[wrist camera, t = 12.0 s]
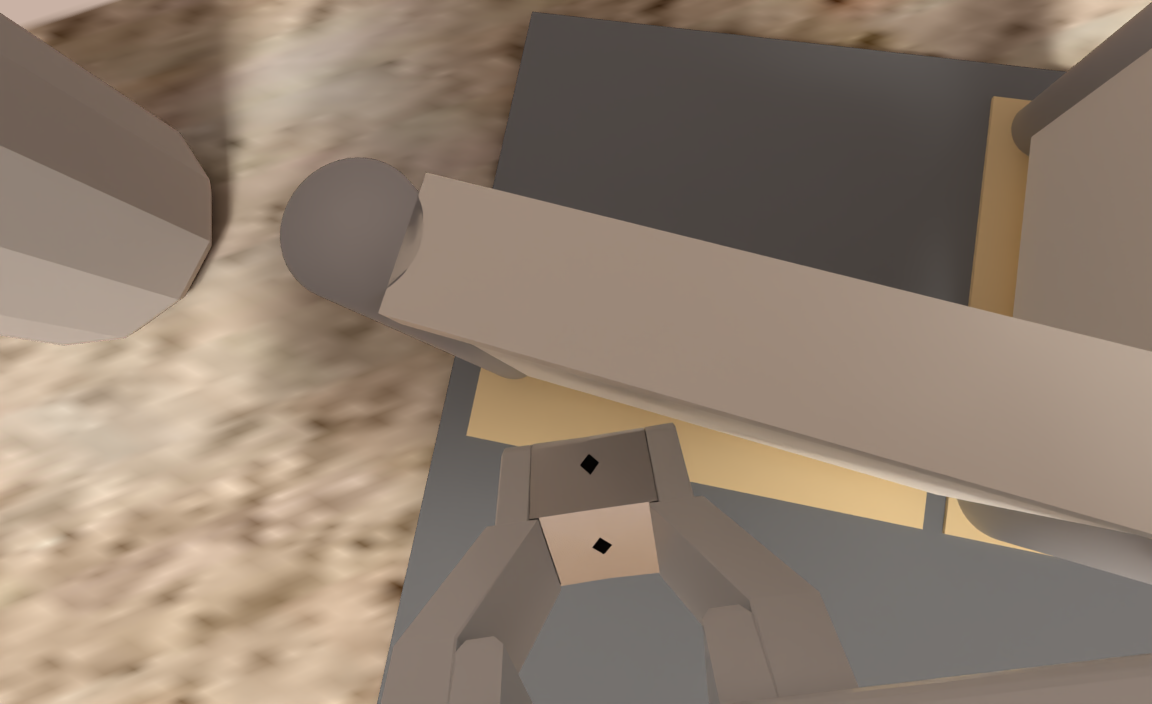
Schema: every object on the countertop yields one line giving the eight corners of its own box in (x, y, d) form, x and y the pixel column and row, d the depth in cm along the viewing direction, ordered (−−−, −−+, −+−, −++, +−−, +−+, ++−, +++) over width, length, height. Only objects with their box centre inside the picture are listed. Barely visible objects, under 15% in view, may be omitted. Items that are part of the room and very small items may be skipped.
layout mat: (328, 942, 14) (317, 961, 13) (534, 21, 17) (531, 9, 16) (1237, 1237, 12) (1264, 1273, 11) (1287, 107, 15) (1310, 96, 14)
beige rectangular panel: (495, 311, 15) (308, 143, 6) (944, 436, 13) (1513, 440, 5) (476, 369, 15) (259, 279, 6) (929, 501, 13) (1491, 631, 5)
